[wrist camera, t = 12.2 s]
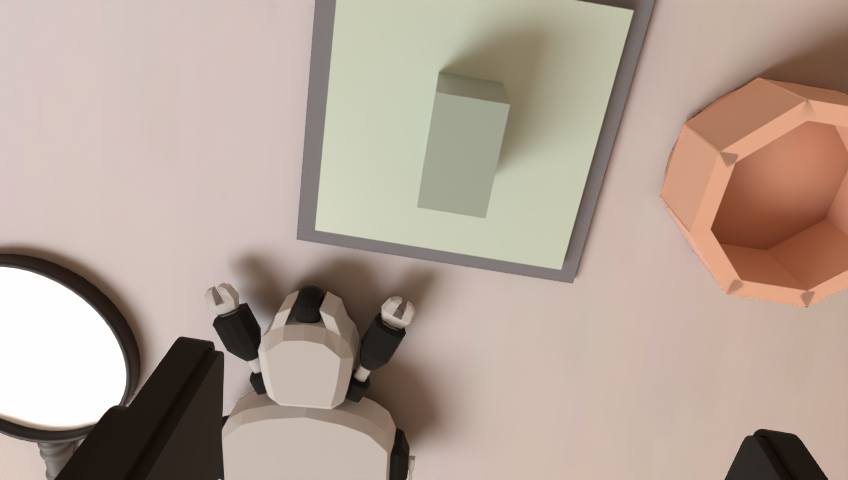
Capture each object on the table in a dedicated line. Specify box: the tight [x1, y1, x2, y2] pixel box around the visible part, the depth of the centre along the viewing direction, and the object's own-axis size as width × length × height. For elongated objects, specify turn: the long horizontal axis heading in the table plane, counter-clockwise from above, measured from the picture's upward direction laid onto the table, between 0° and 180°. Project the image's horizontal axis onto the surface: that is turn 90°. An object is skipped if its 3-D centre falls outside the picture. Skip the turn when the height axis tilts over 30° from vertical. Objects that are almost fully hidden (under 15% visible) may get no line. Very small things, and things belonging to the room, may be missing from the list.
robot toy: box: [205, 283, 416, 480], centre depth 37 cm, size 12×4×15 cm
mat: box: [297, 0, 655, 283], centre depth 31 cm, size 15×15×1 cm
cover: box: [315, 0, 634, 270], centre depth 29 cm, size 13×13×5 cm
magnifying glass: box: [0, 254, 140, 480], centre depth 40 cm, size 12×24×2 cm, turn 178°
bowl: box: [659, 77, 848, 307], centre depth 30 cm, size 9×9×5 cm
